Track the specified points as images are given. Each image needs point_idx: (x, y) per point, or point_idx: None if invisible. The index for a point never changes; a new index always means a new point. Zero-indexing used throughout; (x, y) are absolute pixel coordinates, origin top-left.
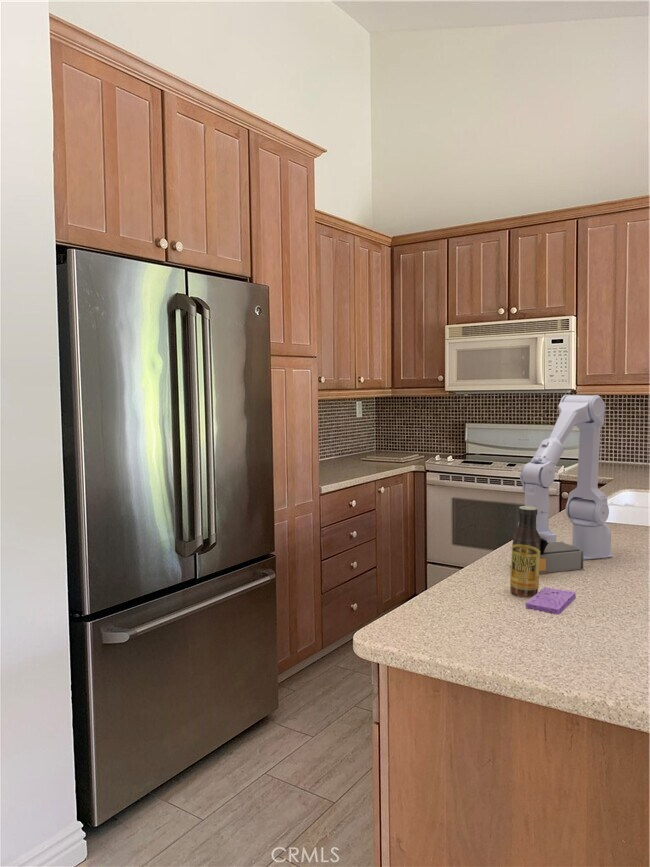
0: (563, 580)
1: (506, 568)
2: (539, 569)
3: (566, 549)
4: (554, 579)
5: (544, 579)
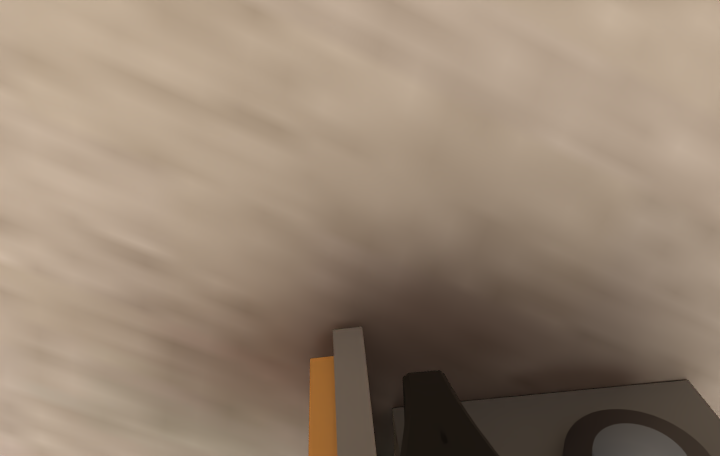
0: (127, 451)
1: (644, 120)
2: (312, 380)
3: None
4: (162, 402)
5: (169, 328)
